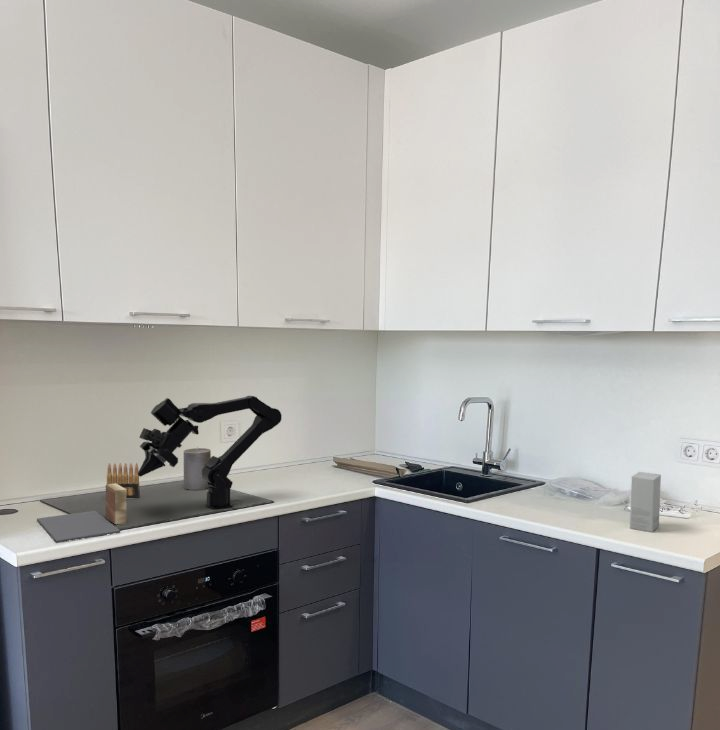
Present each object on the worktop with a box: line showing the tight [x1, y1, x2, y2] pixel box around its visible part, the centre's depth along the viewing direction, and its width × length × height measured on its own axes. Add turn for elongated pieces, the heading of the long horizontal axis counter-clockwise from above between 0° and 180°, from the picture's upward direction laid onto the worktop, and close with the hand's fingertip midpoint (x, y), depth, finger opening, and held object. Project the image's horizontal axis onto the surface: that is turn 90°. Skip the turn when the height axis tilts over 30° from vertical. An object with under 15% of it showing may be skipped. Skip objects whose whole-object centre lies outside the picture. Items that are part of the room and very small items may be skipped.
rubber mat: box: [36, 510, 121, 544], centre depth 176 cm, size 16×26×1 cm, turn 37°
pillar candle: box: [183, 446, 212, 491], centre depth 227 cm, size 10×10×15 cm
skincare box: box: [629, 471, 662, 533], centre depth 182 cm, size 8×7×16 cm
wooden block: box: [105, 483, 127, 525], centre depth 182 cm, size 3×10×10 cm, turn 37°
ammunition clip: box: [106, 462, 141, 499], centre depth 210 cm, size 11×2×12 cm, turn 96°
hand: (138, 475), depth 186 cm, fingers closed
